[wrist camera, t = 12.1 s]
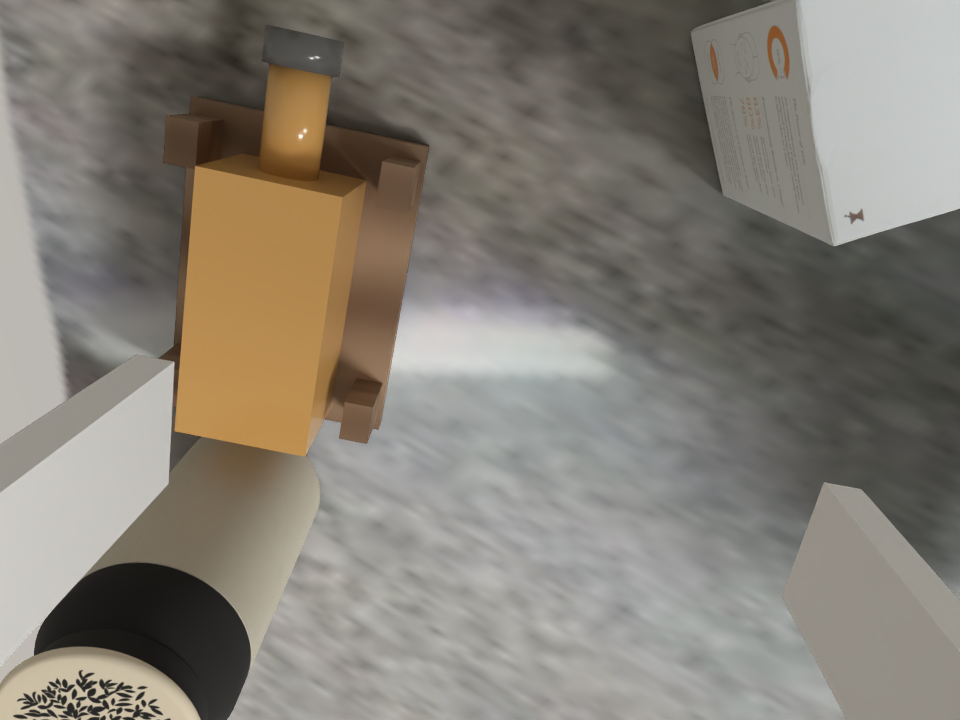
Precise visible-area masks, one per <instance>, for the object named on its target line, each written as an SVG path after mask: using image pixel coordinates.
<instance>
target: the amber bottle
mask: <svg viewBox="0 0 960 720" xmlns="http://www.w3.org/2000/svg"><path fill="white" fill-rule="evenodd" d="M343 47H344V42H340V41H336V40H332V39H328V38H324V37H319V36H315V35H311V34H306V33H302V32H297V31H293V30H288V29H284V28H279V27H275V26H270V25H266V26H265V35H264V45H263V55H262V61H263V62H267V63H269V70H268V80H267V89H266V99H265V108H264V117H263V127H262V136H261V146H260V155H259V157H256V156H251V155H246V154H239V155H235V156H232V157H228V158H224V159H220V160H216V161H212V162H209V163H205V164H201V165H197V166H195V175H194V188H193V201H192V214H191V227H190V239H189V252H188V265H187V278H186V290H185V303H184V316H183V329H182V342H181V354H180V367H179V380H178V393H177V406H176V418H175V431H176V432H181V433H186V434H191V435H196V436H201V437H206V438H212V439H217V440H222V441H227V442H232V443H237V444H242V445H247V446H252V447H258V448H263V449H268V450H273V451H278V452H283V453H288V454H293V455H298V456H304V457H305V456H306V454H307V452H308V450H309V448H310V446H311V444H312V443H313V441H314V439H315V437H316V435H317V433H318V431H319V429H320V427H321V425H322V423H323V421H324V420H325V418H326V416H327V414H328V412H329V410H330V408H331V406H332V402H333V395H334V389H335V382H336V376H337V370H338V363H339V357H340V350H341V344H342V337H343V331H344V324H345V318H346V311H347V305H348V298H349V292H350V286H351V279H352V273H353V266H354V260H355V253H356V247H357V240H358V234H359V227H360V221H361V214H362V208H363V202H364V195H365V189H366V182H367V180H363V179H358V178H354V177H349V176H344V175H340V174H335V173H330V172H326V171H321V170H320V164H321V157H322V149H323V141H324V134H325V126H326V119H327V111H328V104H329V96H330V89H331V81H332V77H339V76H340V69H341V62H342V54H343Z"/></svg>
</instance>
